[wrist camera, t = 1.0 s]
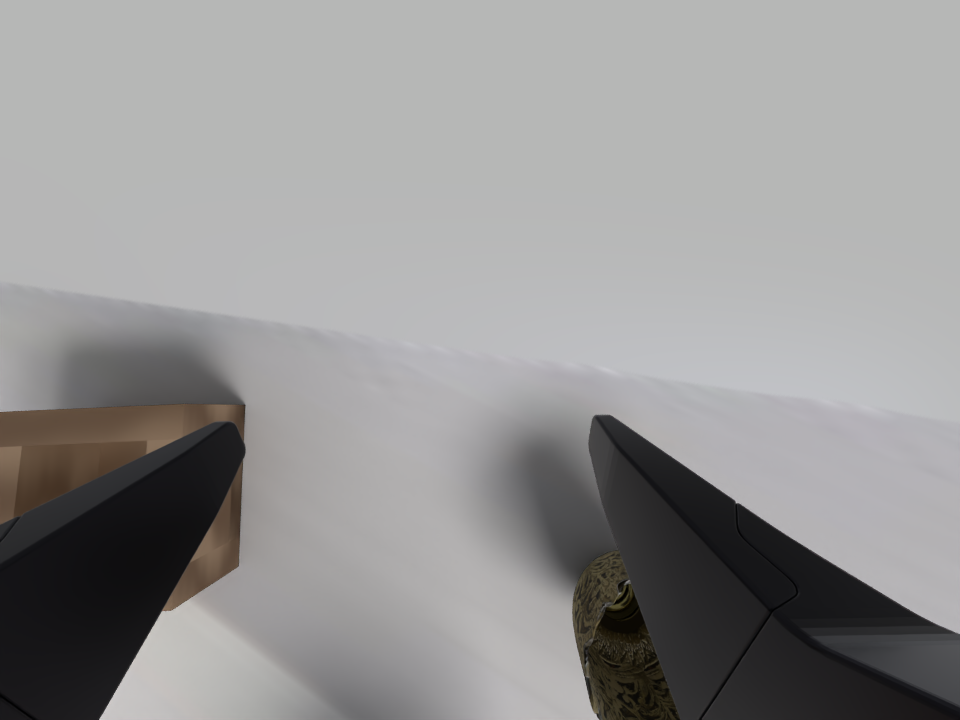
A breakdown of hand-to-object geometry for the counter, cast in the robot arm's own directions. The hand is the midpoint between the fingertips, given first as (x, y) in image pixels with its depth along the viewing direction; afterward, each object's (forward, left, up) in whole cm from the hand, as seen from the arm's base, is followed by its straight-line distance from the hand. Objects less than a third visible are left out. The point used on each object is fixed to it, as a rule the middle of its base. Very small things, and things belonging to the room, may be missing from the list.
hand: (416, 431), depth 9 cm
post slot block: (-4, +19, -15) cm, 24 cm away
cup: (-11, -9, -15) cm, 21 cm away
